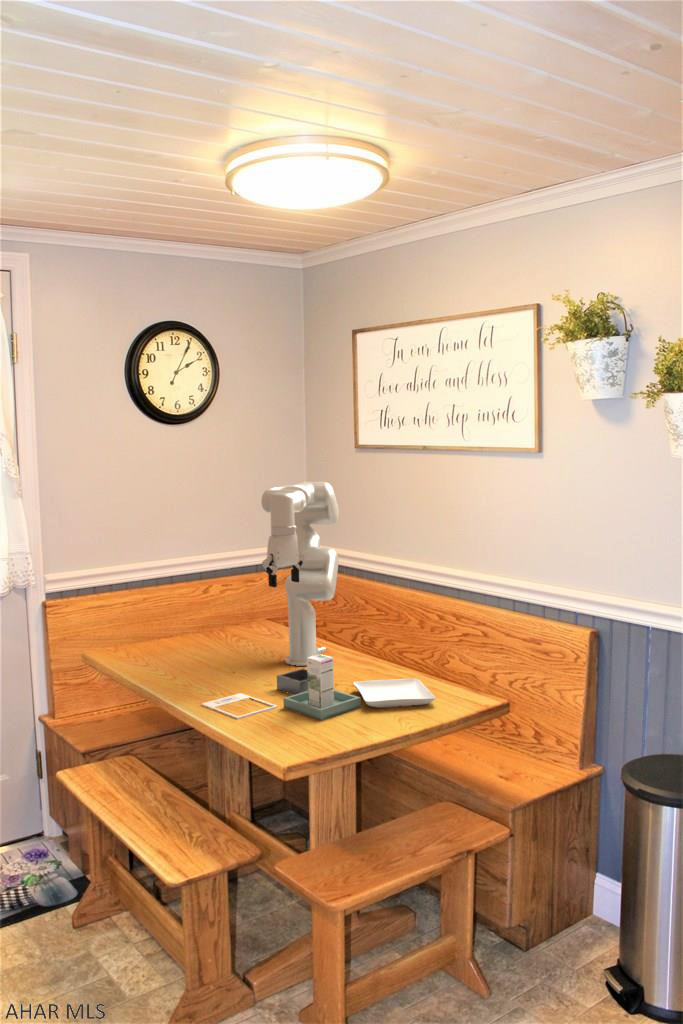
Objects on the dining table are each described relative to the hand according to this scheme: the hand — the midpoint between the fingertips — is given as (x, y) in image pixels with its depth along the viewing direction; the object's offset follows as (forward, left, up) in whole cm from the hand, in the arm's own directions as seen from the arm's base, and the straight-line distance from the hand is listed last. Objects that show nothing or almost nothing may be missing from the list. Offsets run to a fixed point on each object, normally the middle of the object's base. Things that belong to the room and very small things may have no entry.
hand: (284, 584), depth 274 cm
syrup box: (+9, +27, -32) cm, 43 cm away
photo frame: (+25, +8, -33) cm, 42 cm away
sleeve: (+1, +9, -32) cm, 34 cm away
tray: (+9, +27, -32) cm, 43 cm away
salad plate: (-12, +36, -33) cm, 50 cm away
